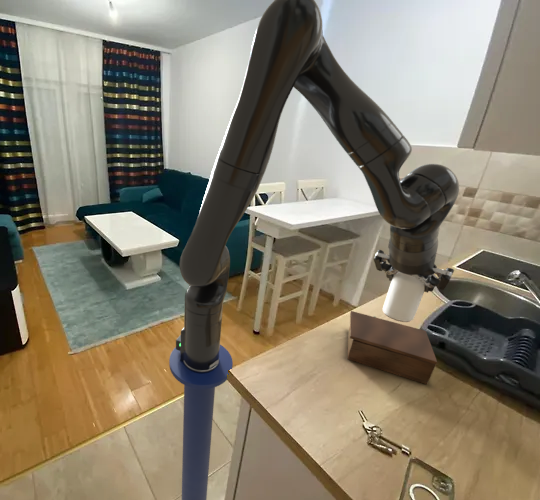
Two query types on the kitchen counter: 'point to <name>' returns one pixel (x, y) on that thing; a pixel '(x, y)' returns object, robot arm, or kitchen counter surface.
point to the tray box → (389, 361)
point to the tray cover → (391, 336)
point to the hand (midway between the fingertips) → (409, 282)
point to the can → (403, 297)
